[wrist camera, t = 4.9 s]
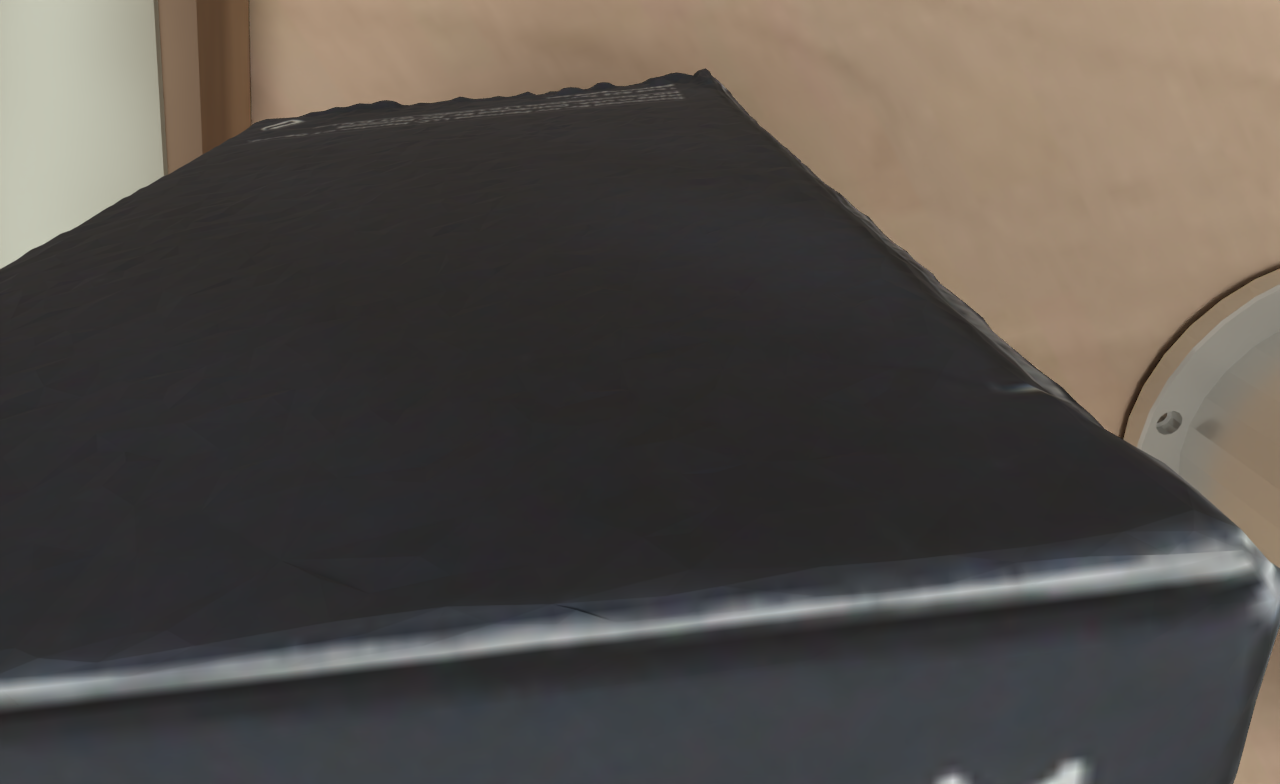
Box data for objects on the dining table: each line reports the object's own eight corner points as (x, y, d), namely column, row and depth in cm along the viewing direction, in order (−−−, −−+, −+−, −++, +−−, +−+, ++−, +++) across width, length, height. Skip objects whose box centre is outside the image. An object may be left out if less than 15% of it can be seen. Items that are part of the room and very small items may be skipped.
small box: (211, 112, 12) (-1397, 812, 2) (728, 62, 12) (1467, 468, 2) (381, 741, 16) (135, 1875, 6) (752, 694, 16) (1036, 1712, 7)
